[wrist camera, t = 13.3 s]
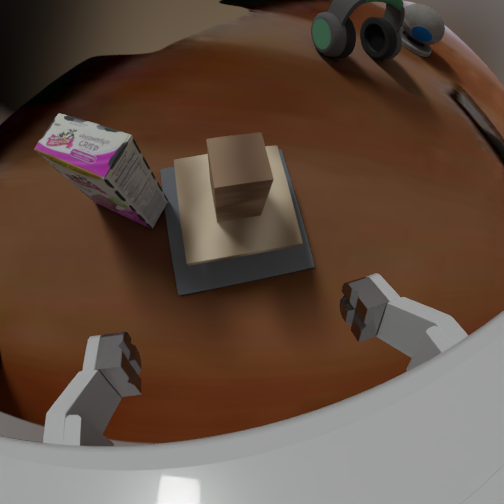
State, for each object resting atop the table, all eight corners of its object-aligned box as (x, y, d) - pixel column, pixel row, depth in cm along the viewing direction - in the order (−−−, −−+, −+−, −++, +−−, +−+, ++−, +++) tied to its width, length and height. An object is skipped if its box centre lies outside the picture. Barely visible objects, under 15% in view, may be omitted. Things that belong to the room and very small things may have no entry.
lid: (188, 265, 32) (171, 243, 22) (175, 164, 34) (160, 114, 24) (300, 245, 33) (329, 216, 23) (275, 150, 36) (291, 99, 26)
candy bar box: (93, 204, 37) (31, 149, 21) (109, 175, 38) (58, 110, 22) (153, 233, 37) (102, 179, 21) (170, 200, 38) (134, 131, 22)
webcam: (428, 45, 57) (448, 15, 42) (430, 63, 54) (455, 30, 39) (392, 24, 57) (410, -9, 42) (391, 40, 54) (412, 3, 39)
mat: (178, 295, 35) (178, 295, 35) (160, 170, 39) (160, 169, 39) (313, 267, 38) (314, 266, 37) (281, 150, 41) (281, 149, 41)
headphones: (326, 68, 47) (357, -9, 28) (303, 38, 49) (324, -32, 30) (393, 69, 50) (429, 11, 31) (369, 41, 52) (397, -16, 33)
